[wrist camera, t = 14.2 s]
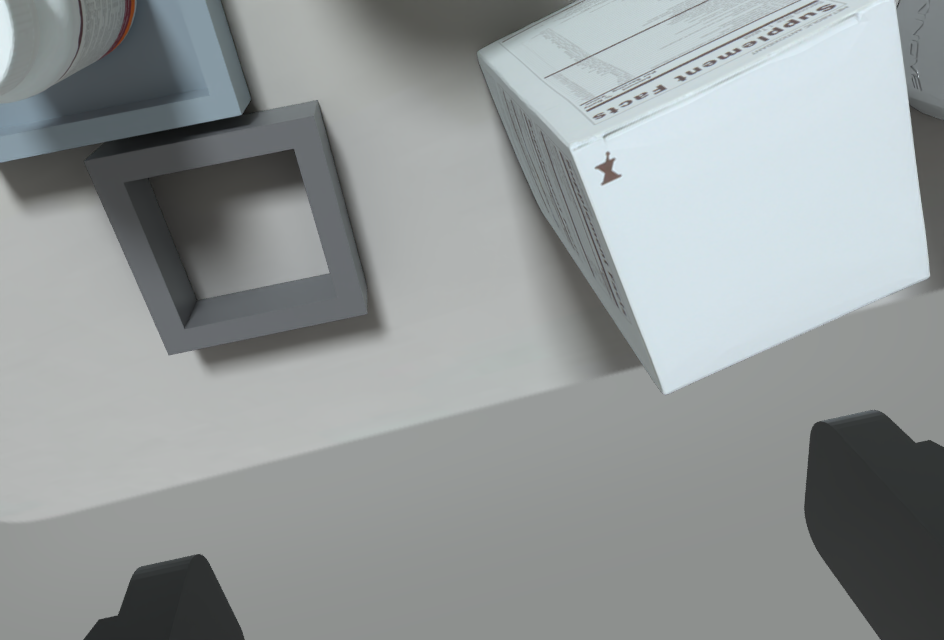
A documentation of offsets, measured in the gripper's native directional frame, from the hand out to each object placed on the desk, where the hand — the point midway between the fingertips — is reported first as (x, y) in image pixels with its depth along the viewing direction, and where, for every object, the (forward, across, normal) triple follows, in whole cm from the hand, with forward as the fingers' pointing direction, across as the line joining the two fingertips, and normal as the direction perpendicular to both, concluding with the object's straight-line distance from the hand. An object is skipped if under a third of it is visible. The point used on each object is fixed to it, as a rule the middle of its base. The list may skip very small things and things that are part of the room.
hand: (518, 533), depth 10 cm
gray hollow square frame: (+28, +9, +4) cm, 30 cm away
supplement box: (+28, -9, +2) cm, 30 cm away
